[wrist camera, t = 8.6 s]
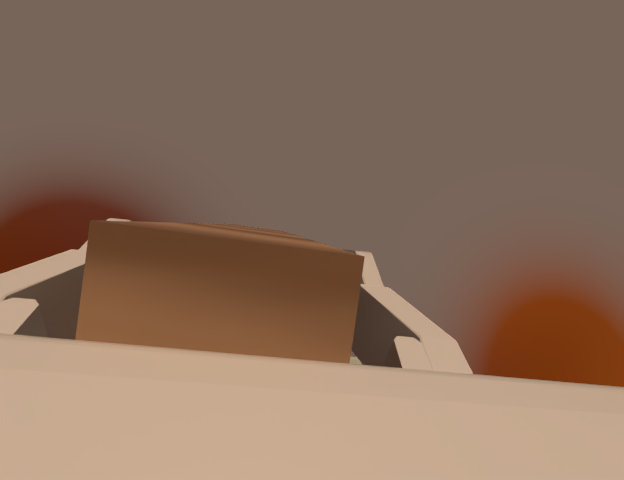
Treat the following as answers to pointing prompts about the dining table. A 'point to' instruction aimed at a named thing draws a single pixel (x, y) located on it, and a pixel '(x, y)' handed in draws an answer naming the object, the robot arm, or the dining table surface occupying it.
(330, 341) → the walnut slat
